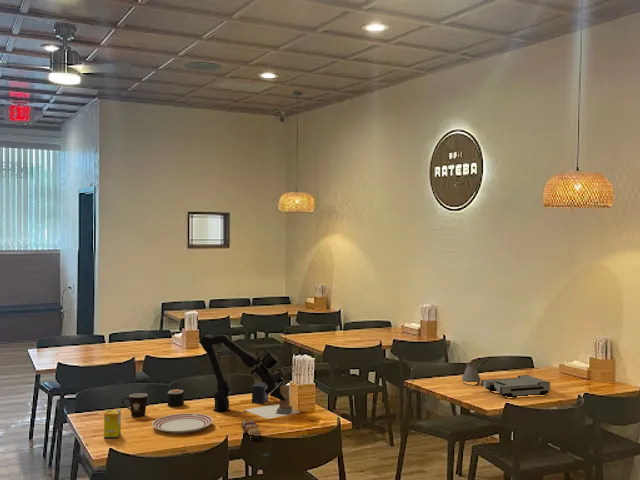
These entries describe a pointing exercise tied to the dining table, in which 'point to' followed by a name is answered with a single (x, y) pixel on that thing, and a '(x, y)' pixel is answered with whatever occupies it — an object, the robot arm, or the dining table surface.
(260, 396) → the small box
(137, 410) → the coffee mug
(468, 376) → the coffee pot
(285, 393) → the block
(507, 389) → the game console
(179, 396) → the sushi
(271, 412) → the board
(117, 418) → the supplement box
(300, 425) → the dining table surface
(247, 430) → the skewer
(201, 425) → the dinner plate
